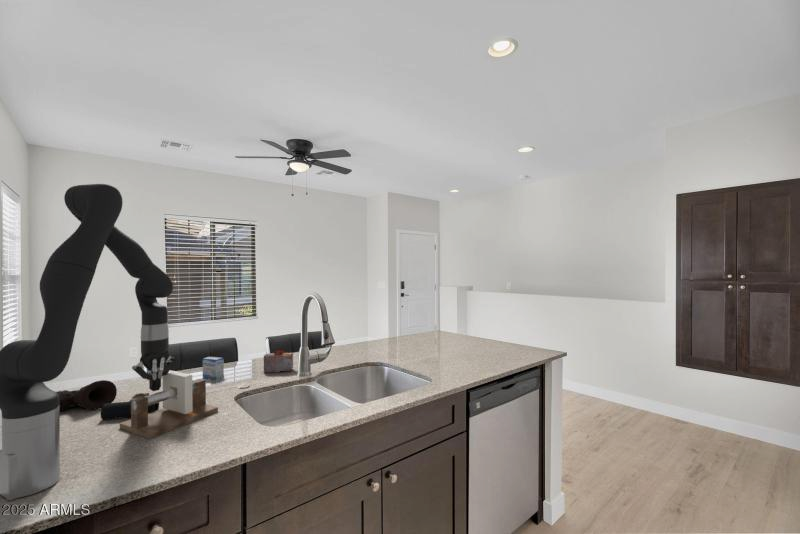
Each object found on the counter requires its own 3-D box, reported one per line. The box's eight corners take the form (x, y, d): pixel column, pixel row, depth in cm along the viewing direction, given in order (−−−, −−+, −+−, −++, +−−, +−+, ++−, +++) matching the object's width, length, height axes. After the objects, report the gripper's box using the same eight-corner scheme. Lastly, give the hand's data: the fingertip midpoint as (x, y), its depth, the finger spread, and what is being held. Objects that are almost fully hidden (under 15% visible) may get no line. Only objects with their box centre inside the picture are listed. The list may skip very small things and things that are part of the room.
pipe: (42, 389, 125) (66, 387, 119) (93, 379, 139) (116, 377, 133) (42, 418, 124) (67, 417, 118) (93, 405, 138) (118, 404, 132)
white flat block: (185, 414, 116) (184, 376, 116) (162, 407, 121) (162, 372, 121) (192, 411, 118) (192, 374, 118) (170, 405, 123) (170, 370, 123)
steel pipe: (137, 411, 107) (137, 400, 107) (130, 409, 109) (130, 398, 109) (205, 388, 127) (205, 379, 127) (199, 387, 128) (199, 378, 128)
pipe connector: (118, 393, 128) (166, 389, 131) (118, 408, 128) (166, 404, 132) (100, 406, 117) (152, 402, 120) (100, 422, 117) (153, 417, 120)
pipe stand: (149, 438, 104) (149, 404, 104) (119, 428, 112) (119, 395, 112) (217, 411, 124) (217, 382, 124) (188, 403, 131) (188, 376, 131)
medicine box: (202, 377, 162) (202, 358, 162) (210, 374, 166) (210, 356, 166) (216, 379, 160) (216, 359, 160) (224, 376, 164) (223, 357, 164)
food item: (294, 367, 177) (294, 347, 177) (292, 372, 170) (292, 351, 170) (265, 369, 175) (264, 349, 175) (262, 374, 167) (262, 353, 167)
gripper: (139, 342, 110) (139, 398, 110) (182, 334, 122) (182, 385, 122) (125, 340, 113) (126, 395, 113) (168, 332, 125) (169, 382, 125)
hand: (155, 390), depth 118 cm, fingers closed
